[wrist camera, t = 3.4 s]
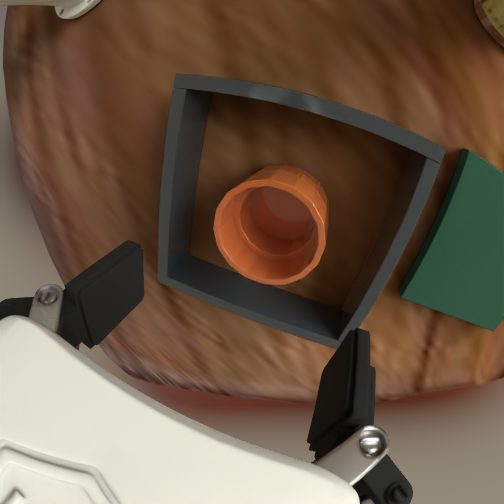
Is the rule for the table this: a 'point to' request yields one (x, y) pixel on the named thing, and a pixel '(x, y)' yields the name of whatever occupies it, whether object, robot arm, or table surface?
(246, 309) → the dark grey square frame
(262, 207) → the orange cup
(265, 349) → the table surface
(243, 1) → the table surface
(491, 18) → the sauce bottle
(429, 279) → the mat
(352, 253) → the table surface
